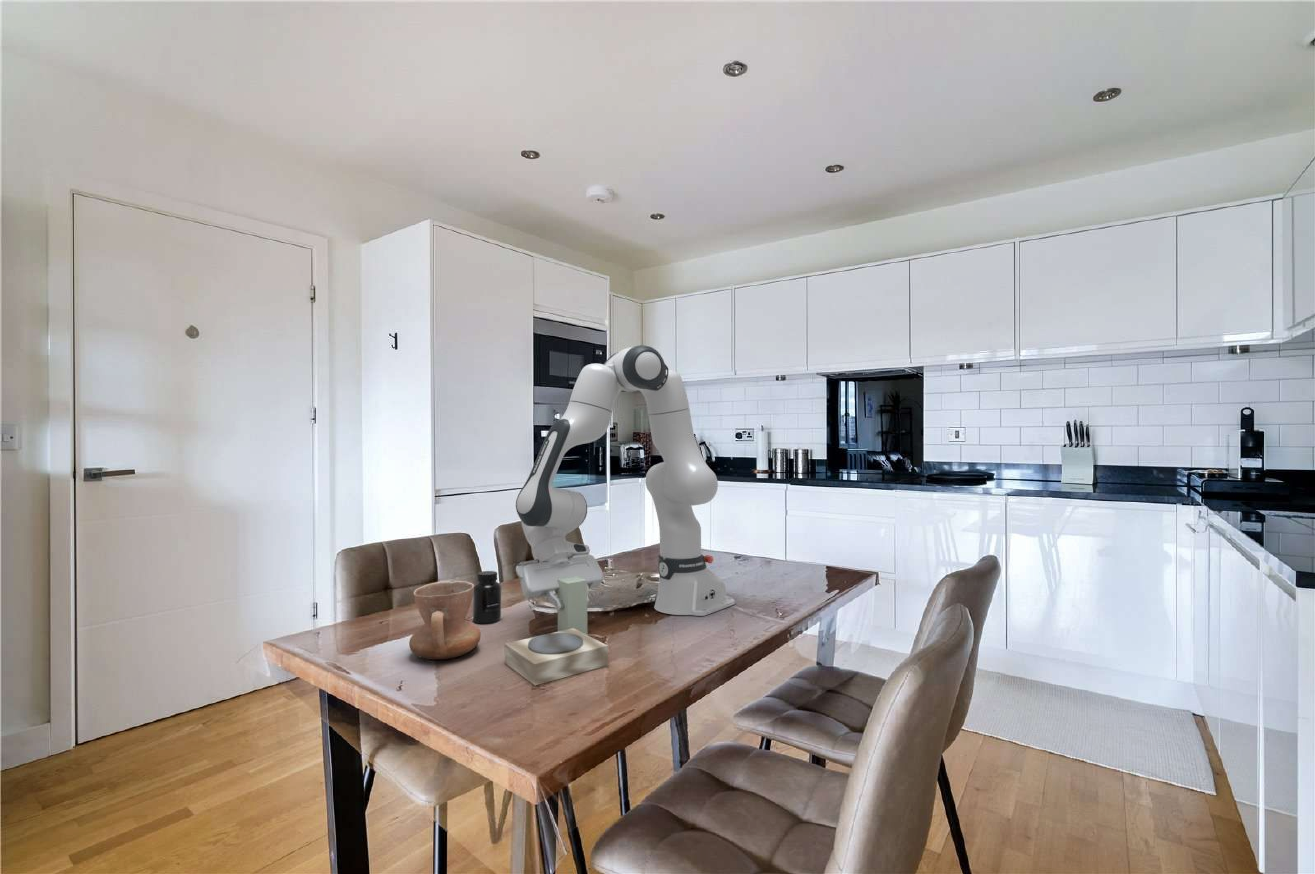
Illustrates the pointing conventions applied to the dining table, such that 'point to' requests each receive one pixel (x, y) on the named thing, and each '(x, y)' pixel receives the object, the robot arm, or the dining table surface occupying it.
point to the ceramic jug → (444, 621)
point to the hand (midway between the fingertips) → (573, 606)
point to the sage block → (573, 604)
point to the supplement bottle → (487, 598)
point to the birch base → (555, 655)
